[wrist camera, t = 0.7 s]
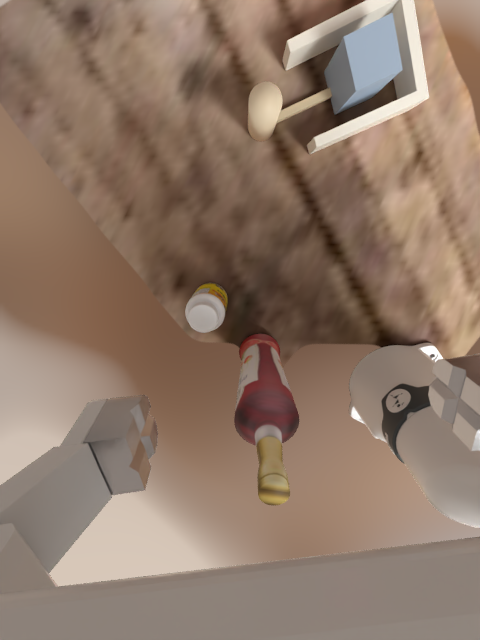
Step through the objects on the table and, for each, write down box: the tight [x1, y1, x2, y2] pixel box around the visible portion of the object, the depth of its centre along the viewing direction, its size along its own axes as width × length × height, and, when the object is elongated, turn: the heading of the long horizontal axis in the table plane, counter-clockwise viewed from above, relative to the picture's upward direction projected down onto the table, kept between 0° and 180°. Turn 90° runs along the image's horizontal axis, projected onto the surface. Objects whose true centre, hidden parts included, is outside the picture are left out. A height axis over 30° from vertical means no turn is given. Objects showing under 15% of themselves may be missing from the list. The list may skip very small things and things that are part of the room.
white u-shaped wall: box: [282, 0, 429, 155], centre depth 36 cm, size 14×11×4 cm
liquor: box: [235, 334, 299, 505], centre depth 38 cm, size 7×7×28 cm
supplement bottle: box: [185, 283, 228, 333], centre depth 43 cm, size 6×6×10 cm
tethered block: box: [248, 13, 403, 141], centre depth 34 cm, size 16×5×9 cm, turn 112°
